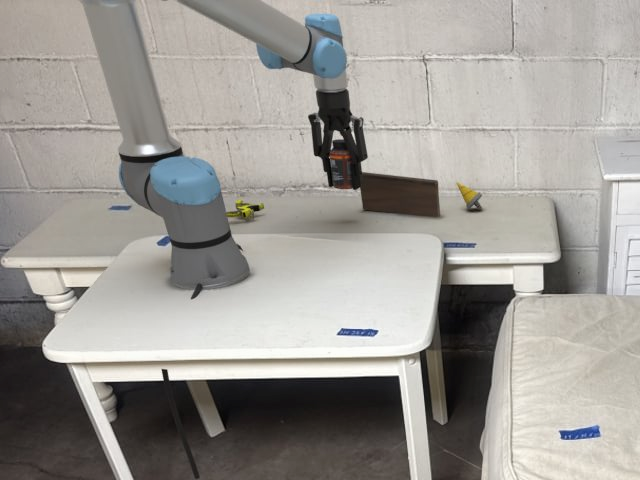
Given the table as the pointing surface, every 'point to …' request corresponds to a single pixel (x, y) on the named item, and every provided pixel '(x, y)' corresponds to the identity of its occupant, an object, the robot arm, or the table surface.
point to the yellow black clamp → (245, 209)
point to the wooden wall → (399, 194)
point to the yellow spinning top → (470, 196)
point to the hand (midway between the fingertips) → (344, 186)
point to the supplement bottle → (340, 165)
